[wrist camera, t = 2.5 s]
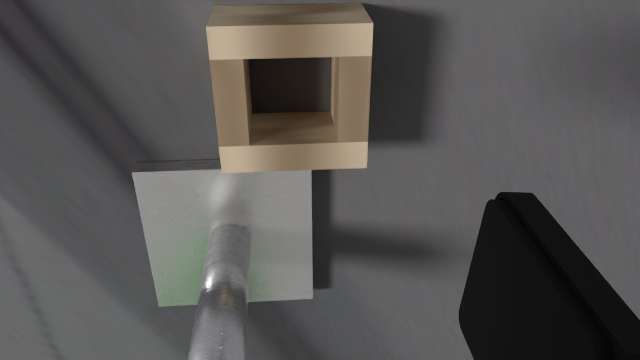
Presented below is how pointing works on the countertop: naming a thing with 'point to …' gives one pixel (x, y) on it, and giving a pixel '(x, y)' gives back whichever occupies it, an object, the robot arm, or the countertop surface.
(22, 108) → the countertop surface
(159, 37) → the countertop surface
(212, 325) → the post
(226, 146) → the light brown square frame
